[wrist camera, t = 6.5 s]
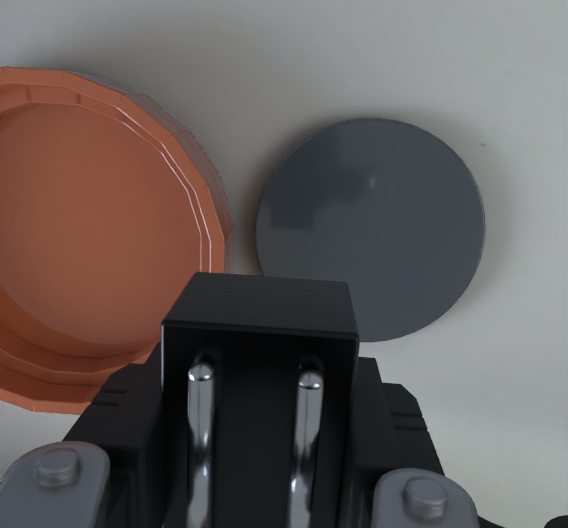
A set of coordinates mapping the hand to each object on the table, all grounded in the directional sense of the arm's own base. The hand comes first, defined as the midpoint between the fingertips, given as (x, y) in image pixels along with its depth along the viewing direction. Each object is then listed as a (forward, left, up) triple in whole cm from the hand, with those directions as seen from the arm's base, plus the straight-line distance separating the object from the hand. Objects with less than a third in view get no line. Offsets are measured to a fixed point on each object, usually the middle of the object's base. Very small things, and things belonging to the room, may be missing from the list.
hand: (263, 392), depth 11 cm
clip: (0, 0, 0) cm, 0 cm away
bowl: (+1, -9, -14) cm, 17 cm away
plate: (0, +4, -14) cm, 14 cm away
